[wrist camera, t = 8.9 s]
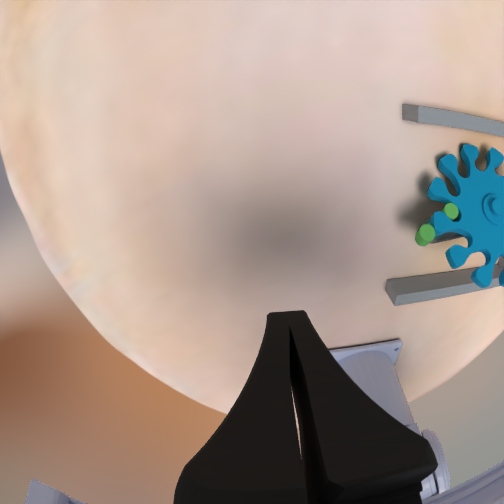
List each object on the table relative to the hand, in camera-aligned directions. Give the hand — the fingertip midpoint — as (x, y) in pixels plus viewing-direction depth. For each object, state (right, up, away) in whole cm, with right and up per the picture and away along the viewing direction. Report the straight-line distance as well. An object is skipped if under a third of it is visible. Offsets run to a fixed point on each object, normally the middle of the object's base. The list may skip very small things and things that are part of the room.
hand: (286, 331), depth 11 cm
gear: (+14, +7, +7) cm, 17 cm away
